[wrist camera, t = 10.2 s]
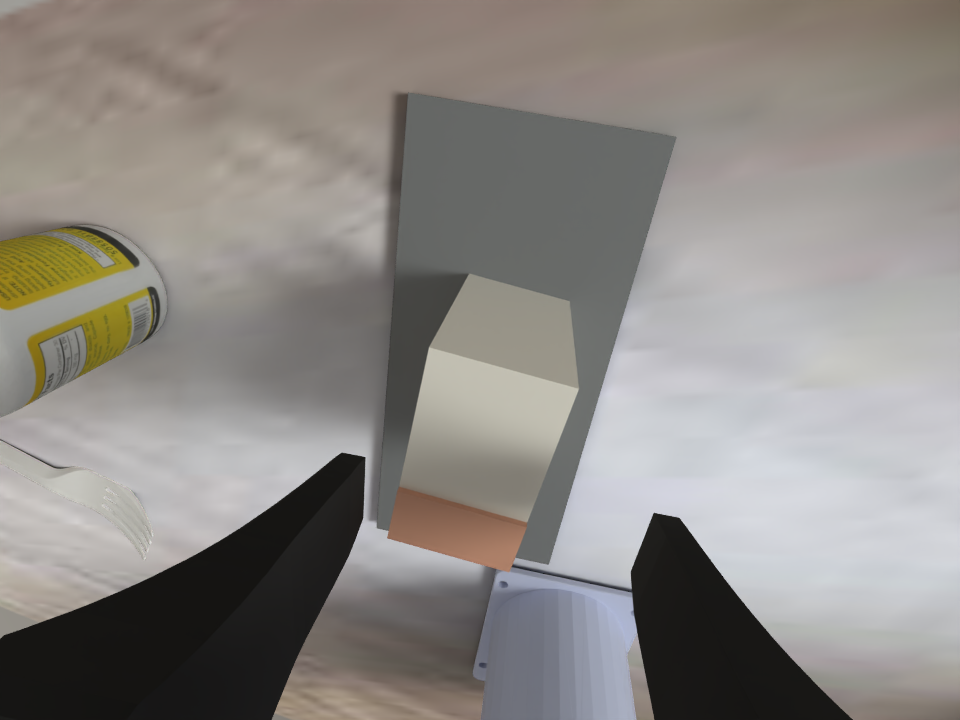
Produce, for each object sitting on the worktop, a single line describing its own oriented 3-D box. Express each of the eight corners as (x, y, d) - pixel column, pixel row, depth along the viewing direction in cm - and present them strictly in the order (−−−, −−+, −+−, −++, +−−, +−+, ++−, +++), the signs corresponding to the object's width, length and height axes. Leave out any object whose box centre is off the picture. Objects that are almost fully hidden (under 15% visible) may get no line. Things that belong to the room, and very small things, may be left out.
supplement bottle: (31, 238, 21) (-332, 317, 13) (131, 209, 20) (-191, 274, 11) (98, 350, 23) (-172, 484, 15) (193, 330, 22) (-38, 463, 14)
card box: (569, 301, 19) (579, 392, 12) (520, 444, 22) (507, 576, 16) (469, 273, 19) (427, 350, 12) (434, 420, 22) (386, 542, 16)
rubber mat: (548, 556, 25) (548, 564, 25) (379, 521, 26) (376, 528, 25) (672, 136, 16) (676, 137, 16) (411, 93, 17) (408, 92, 16)
